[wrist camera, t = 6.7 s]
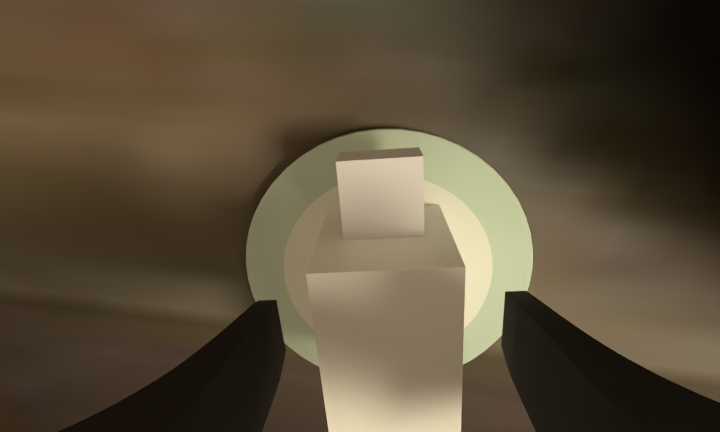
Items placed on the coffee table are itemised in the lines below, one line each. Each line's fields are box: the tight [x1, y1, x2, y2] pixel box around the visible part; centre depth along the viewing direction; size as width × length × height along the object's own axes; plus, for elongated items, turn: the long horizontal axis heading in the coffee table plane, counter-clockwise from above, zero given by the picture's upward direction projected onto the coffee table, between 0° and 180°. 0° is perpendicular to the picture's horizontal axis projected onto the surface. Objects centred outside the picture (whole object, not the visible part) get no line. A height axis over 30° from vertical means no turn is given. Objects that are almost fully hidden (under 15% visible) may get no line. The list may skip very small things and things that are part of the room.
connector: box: [306, 147, 466, 432], centre depth 12 cm, size 8×4×4 cm, turn 4°
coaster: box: [246, 128, 533, 366], centre depth 15 cm, size 11×11×1 cm
